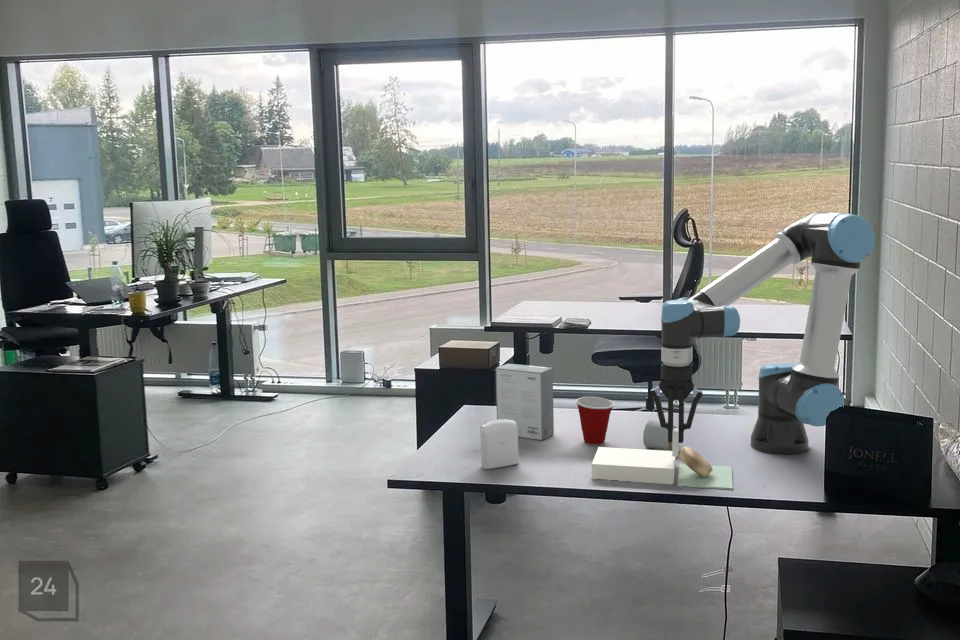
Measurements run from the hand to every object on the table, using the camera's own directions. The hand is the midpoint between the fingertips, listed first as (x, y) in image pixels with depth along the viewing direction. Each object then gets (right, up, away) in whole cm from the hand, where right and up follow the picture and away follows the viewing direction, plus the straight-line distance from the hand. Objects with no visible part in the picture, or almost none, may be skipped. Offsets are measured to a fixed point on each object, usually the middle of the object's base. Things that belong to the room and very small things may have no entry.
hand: (675, 454), depth 230 cm
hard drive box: (-36, 0, +38) cm, 53 cm away
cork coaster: (+4, -2, -1) cm, 5 cm away
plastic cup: (-16, -1, +29) cm, 34 cm away
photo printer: (-44, -5, +11) cm, 46 cm away
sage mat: (+7, -5, -1) cm, 9 cm away
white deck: (-10, -5, +3) cm, 11 cm away
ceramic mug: (+1, -2, +23) cm, 23 cm away
